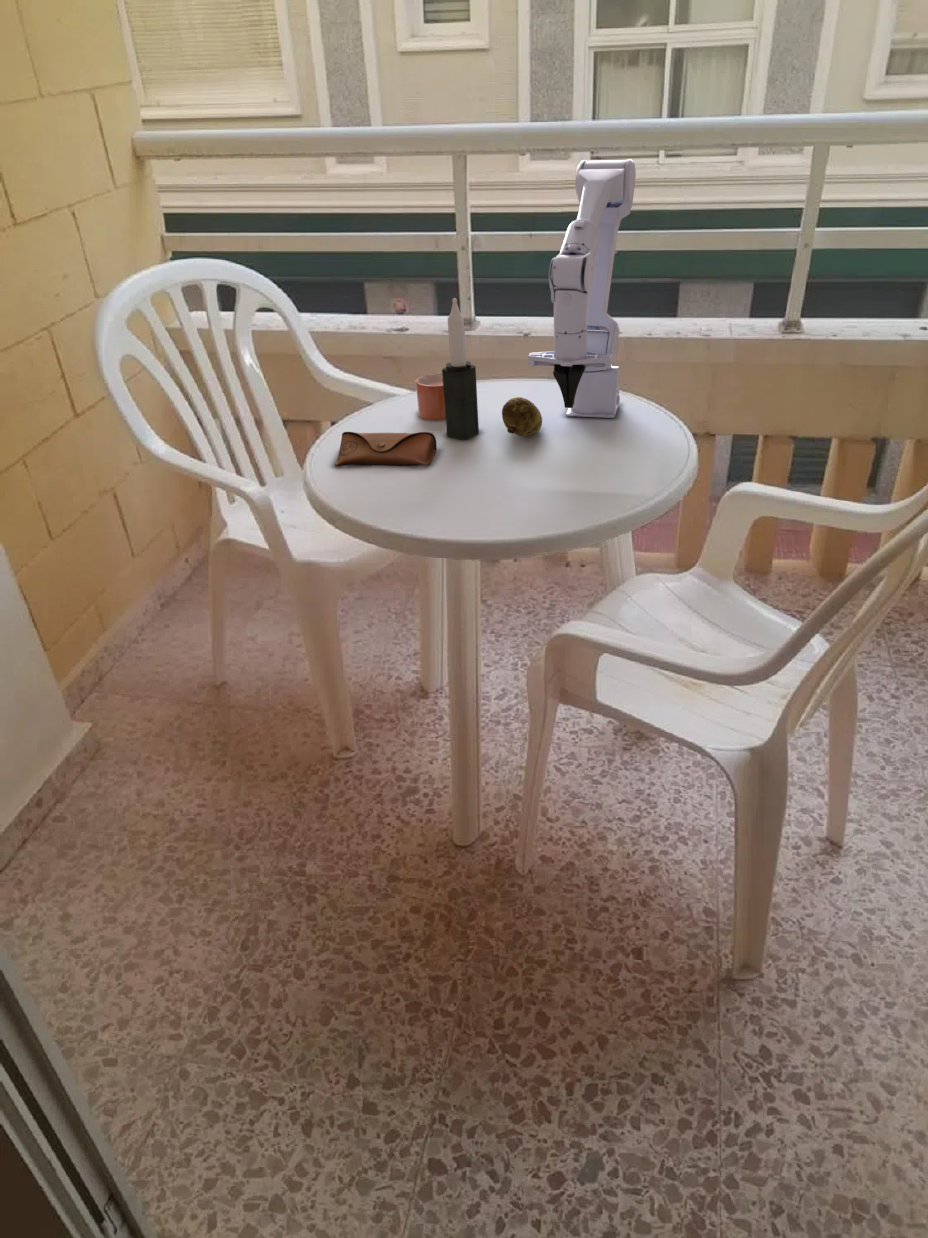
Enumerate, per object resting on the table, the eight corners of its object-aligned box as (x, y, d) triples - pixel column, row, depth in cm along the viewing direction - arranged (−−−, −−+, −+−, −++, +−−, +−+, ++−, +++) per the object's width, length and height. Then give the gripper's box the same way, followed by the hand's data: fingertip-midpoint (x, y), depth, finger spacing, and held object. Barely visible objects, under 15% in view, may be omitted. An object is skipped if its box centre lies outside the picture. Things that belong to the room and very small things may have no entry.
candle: (465, 440, 155) (457, 302, 141) (444, 435, 158) (433, 299, 143) (481, 431, 158) (474, 296, 144) (460, 426, 161) (451, 293, 147)
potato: (558, 425, 158) (558, 385, 154) (528, 450, 149) (527, 408, 145) (519, 419, 162) (518, 379, 157) (488, 443, 153) (486, 402, 148)
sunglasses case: (331, 465, 148) (331, 427, 147) (342, 469, 155) (342, 433, 154) (430, 465, 145) (430, 427, 145) (436, 469, 152) (437, 433, 152)
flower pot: (462, 406, 170) (460, 373, 166) (451, 421, 164) (449, 386, 160) (425, 405, 172) (422, 372, 168) (413, 419, 166) (410, 385, 162)
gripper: (524, 335, 140) (525, 412, 148) (609, 336, 136) (606, 415, 144) (532, 323, 145) (533, 398, 153) (615, 324, 142) (611, 401, 150)
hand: (569, 405), depth 149 cm, fingers closed
